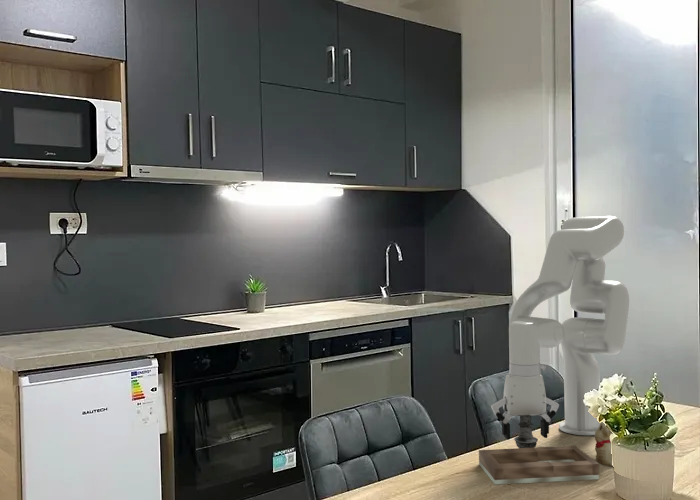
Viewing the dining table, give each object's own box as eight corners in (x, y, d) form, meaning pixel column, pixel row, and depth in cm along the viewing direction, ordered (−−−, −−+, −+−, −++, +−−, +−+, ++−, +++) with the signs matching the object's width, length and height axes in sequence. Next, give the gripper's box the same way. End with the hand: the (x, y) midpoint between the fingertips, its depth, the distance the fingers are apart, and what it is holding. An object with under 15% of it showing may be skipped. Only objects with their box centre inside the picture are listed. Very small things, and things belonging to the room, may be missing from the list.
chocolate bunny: (619, 457, 177) (618, 417, 177) (617, 467, 170) (617, 425, 170) (595, 455, 180) (594, 415, 179) (593, 465, 172) (592, 423, 172)
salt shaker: (536, 449, 185) (535, 403, 185) (539, 456, 179) (539, 409, 179) (513, 449, 186) (512, 403, 186) (516, 456, 180) (515, 409, 180)
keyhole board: (575, 459, 176) (574, 445, 176) (599, 479, 162) (598, 463, 162) (479, 464, 175) (478, 450, 175) (494, 484, 161) (494, 468, 161)
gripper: (552, 366, 186) (553, 432, 187) (487, 368, 185) (488, 434, 185) (563, 371, 179) (564, 440, 179) (495, 373, 178) (496, 442, 178)
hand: (525, 437), depth 182 cm, fingers open, 9 cm apart
